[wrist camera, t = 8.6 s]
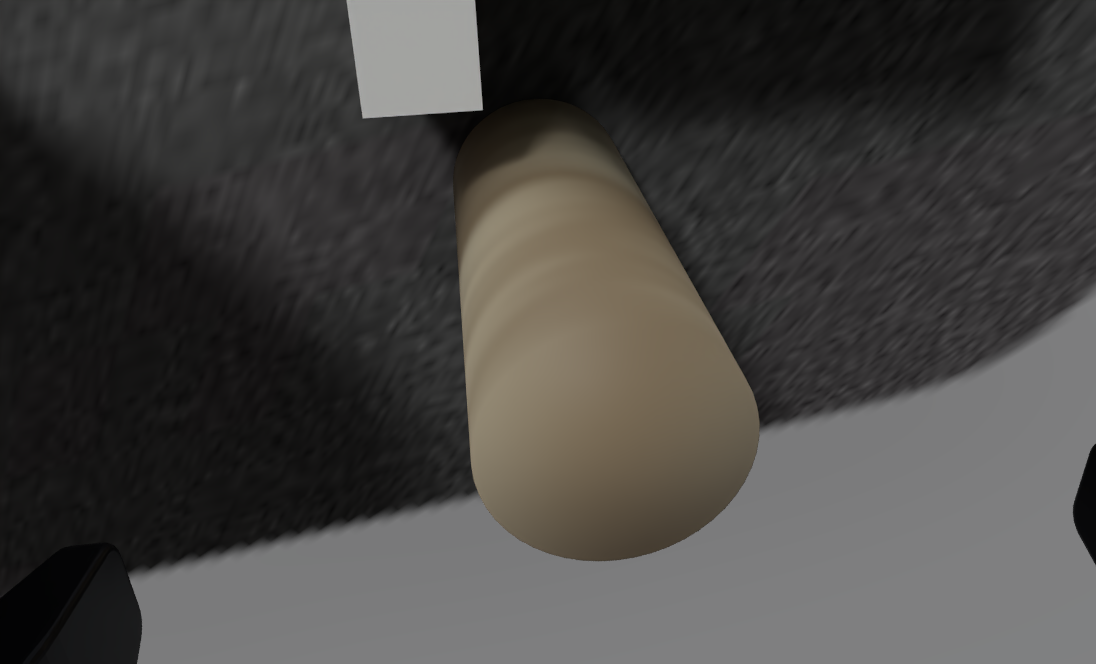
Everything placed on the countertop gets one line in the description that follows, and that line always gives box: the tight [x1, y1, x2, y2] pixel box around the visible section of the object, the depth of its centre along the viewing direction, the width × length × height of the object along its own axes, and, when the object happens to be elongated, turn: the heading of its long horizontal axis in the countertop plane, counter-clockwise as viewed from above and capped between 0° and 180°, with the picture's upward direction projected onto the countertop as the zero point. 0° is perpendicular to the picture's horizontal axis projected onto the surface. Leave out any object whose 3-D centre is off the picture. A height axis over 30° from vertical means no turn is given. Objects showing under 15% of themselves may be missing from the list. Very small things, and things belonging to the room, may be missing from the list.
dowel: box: [453, 99, 759, 561], centre depth 13 cm, size 3×3×8 cm
